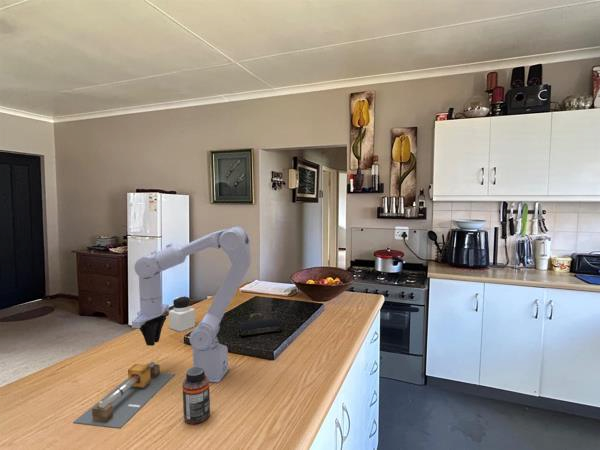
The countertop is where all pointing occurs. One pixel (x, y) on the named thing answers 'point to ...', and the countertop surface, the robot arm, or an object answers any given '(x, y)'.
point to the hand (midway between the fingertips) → (152, 343)
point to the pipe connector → (259, 322)
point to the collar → (144, 374)
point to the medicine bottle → (181, 314)
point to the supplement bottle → (196, 396)
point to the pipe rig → (124, 400)
